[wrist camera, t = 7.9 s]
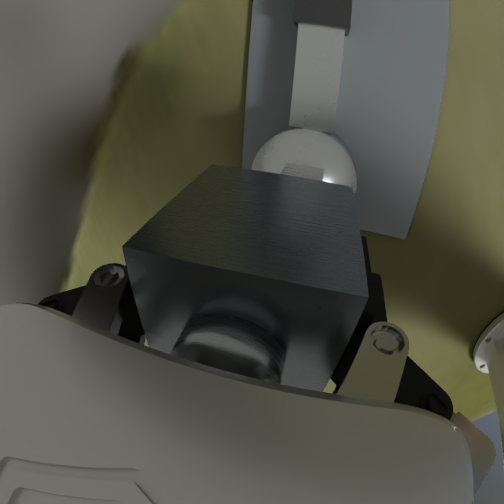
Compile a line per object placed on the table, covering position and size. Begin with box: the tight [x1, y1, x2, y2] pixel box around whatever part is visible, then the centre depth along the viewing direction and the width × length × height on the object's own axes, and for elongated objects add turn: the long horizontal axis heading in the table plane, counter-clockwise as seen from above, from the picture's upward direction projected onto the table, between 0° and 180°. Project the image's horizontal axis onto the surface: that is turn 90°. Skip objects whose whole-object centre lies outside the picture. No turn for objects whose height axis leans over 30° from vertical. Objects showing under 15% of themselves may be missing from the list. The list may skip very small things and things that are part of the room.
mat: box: [242, 0, 450, 240], centre depth 15 cm, size 14×27×1 cm, turn 176°
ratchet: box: [251, 0, 357, 197], centre depth 13 cm, size 25×7×6 cm, turn 176°
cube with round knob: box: [122, 165, 369, 392], centre depth 9 cm, size 5×5×7 cm
